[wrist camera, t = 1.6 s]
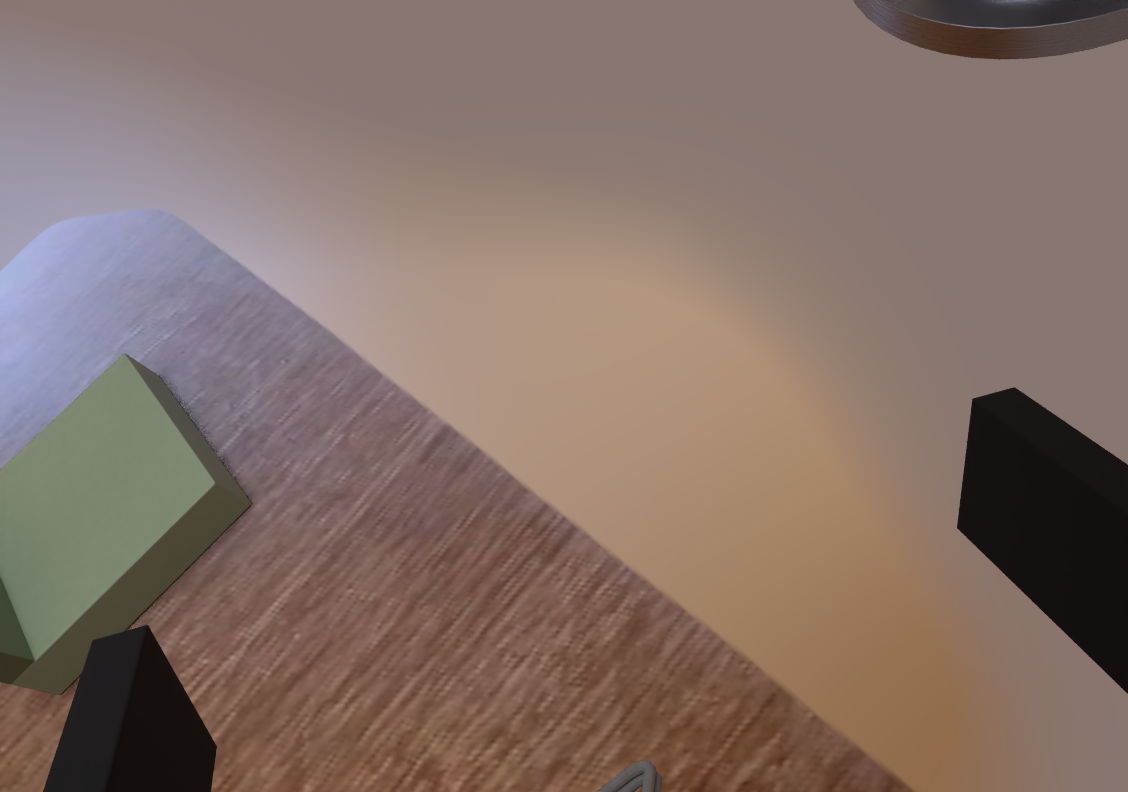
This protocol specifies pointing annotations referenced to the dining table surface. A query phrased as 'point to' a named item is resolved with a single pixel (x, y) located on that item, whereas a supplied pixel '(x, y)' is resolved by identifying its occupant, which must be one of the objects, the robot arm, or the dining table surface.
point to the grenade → (635, 779)
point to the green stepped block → (102, 522)
